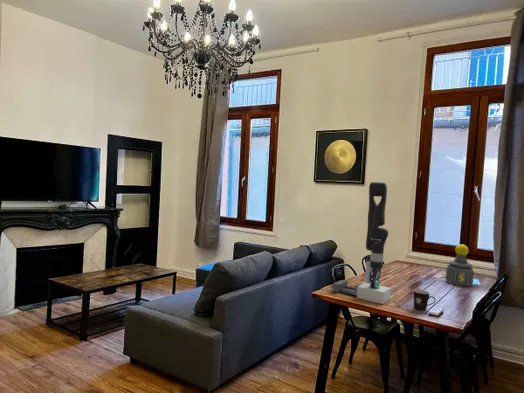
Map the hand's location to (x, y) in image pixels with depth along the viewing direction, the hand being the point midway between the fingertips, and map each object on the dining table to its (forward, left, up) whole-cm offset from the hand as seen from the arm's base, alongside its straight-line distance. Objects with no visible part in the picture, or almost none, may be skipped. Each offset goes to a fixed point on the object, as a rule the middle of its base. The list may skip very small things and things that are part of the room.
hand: (374, 287), depth 234 cm
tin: (0, 0, 0) cm, 0 cm away
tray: (0, -15, -7) cm, 16 cm away
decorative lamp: (-96, +34, -7) cm, 102 cm away
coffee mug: (-1, +28, -7) cm, 29 cm away
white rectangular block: (0, 0, -7) cm, 7 cm away
